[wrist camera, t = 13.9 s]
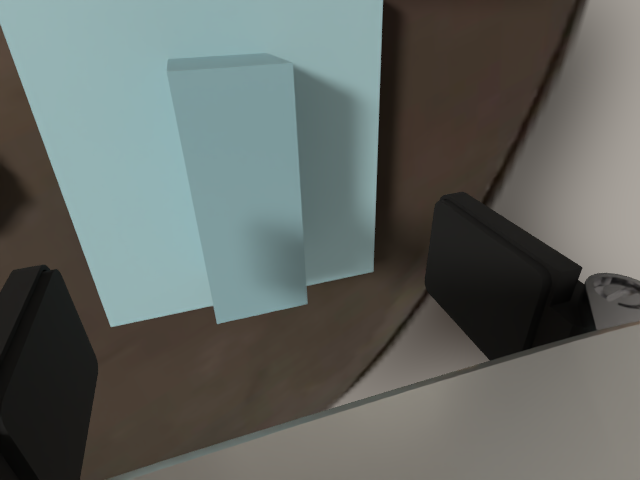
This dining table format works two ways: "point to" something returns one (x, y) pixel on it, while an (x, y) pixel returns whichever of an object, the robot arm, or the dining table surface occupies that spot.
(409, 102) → the dining table surface
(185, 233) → the lid
